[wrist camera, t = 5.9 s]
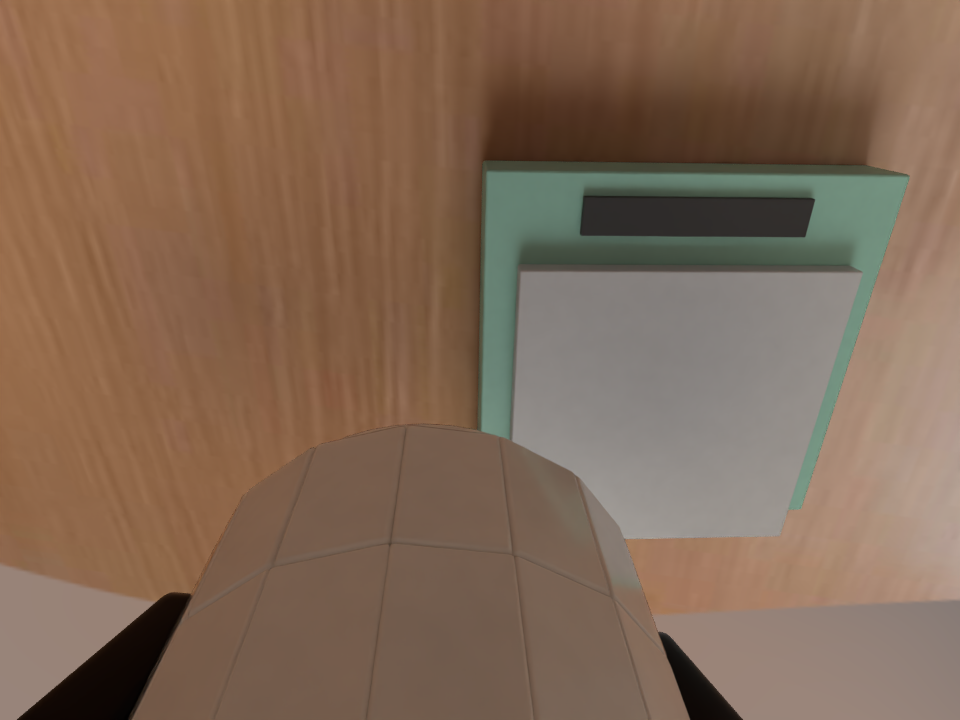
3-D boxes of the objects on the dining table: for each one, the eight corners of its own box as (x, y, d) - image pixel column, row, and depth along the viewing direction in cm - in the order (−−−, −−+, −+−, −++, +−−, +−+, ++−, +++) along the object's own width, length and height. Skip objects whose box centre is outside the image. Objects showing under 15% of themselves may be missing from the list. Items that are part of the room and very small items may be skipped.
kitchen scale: (771, 490, 22) (806, 536, 20) (476, 494, 21) (479, 542, 19) (867, 165, 17) (929, 178, 15) (482, 160, 16) (487, 173, 14)
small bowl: (569, 705, 11) (641, 1102, 7) (232, 683, 10) (77, 1106, 6) (668, 432, 8) (886, 804, 4) (221, 378, 7) (-66, 756, 3)
